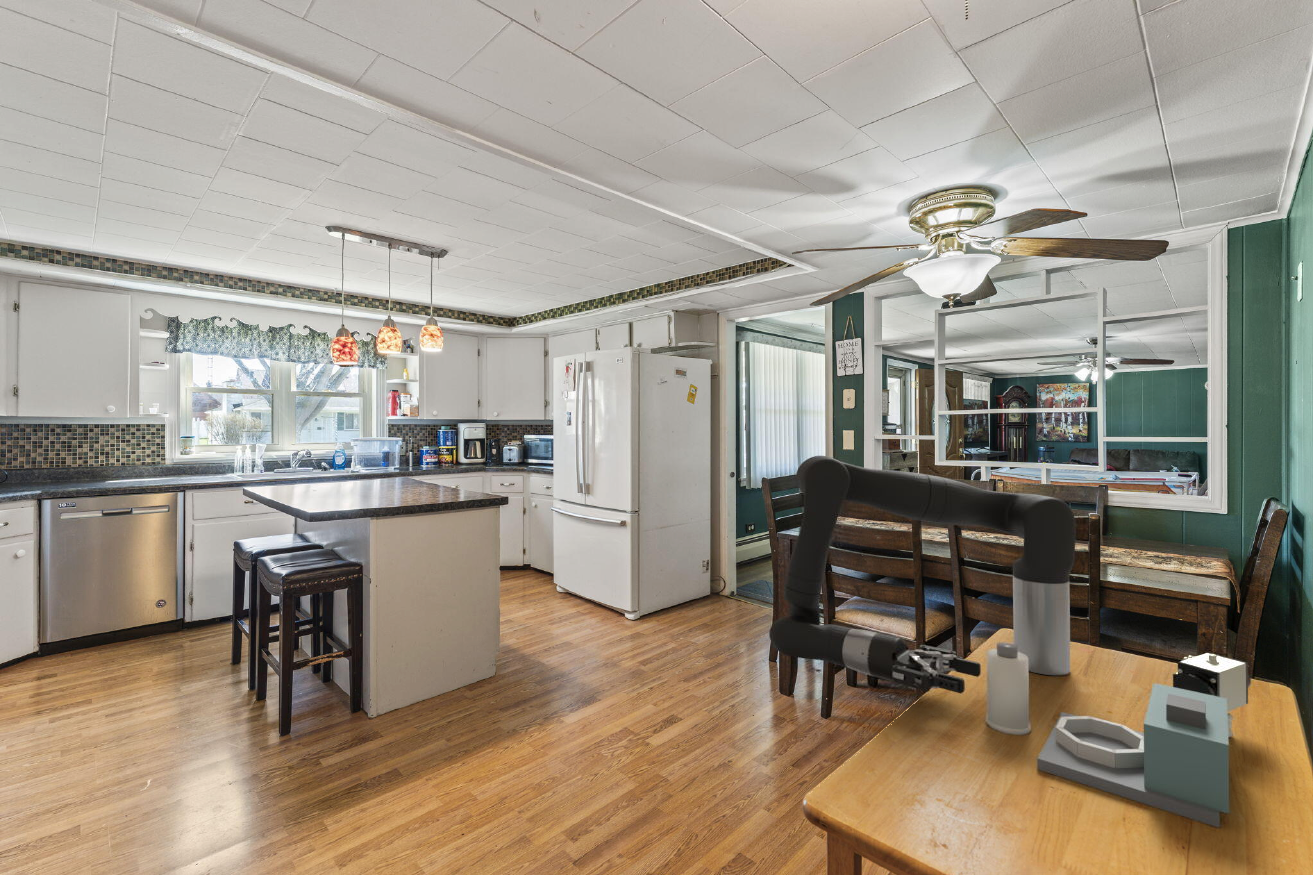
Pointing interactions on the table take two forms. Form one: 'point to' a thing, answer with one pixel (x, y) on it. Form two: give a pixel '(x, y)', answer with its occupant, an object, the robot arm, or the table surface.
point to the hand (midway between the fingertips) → (972, 677)
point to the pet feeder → (1151, 754)
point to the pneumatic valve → (1215, 679)
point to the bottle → (1008, 690)
